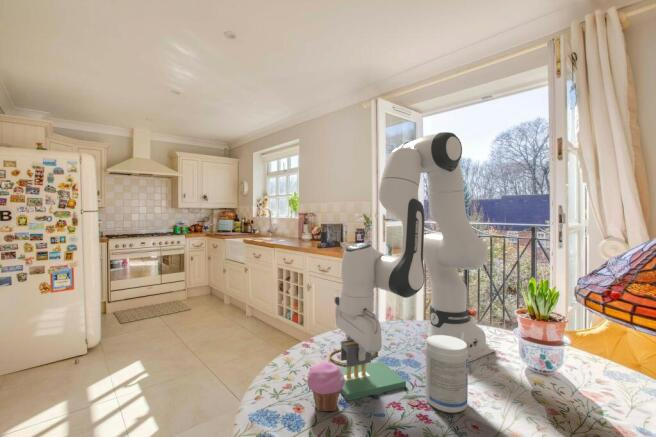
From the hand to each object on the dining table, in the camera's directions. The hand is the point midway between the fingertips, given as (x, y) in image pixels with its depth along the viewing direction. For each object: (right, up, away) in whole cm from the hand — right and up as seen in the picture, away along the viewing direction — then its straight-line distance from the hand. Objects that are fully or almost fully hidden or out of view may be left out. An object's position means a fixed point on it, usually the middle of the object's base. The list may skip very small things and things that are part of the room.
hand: (356, 355), depth 85 cm
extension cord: (+1, -8, +15) cm, 17 cm away
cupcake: (-8, -8, -11) cm, 16 cm away
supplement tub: (+21, -8, -9) cm, 24 cm away
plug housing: (0, -2, 0) cm, 2 cm away
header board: (+3, -7, 0) cm, 8 cm away
